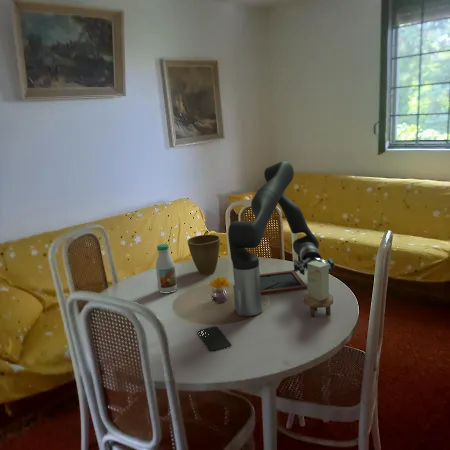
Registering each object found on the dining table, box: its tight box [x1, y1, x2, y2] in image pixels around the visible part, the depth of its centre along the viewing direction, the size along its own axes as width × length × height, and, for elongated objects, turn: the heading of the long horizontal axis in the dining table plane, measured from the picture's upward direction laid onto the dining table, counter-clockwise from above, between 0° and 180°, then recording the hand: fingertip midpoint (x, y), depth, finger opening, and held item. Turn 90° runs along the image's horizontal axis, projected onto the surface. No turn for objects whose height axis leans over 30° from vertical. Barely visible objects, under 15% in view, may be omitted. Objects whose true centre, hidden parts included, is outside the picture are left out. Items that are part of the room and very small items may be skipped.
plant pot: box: [186, 234, 221, 276], centre depth 203 cm, size 15×15×16 cm
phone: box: [197, 325, 232, 352], centre depth 143 cm, size 7×1×15 cm
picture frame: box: [260, 269, 308, 296], centre depth 184 cm, size 20×2×25 cm
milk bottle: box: [155, 243, 178, 292], centre depth 184 cm, size 8×8×20 cm
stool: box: [302, 292, 334, 319], centre depth 153 cm, size 10×10×6 cm
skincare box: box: [306, 260, 330, 301], centre depth 151 cm, size 6×4×12 cm
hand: (315, 271), depth 154 cm, fingers open, 8 cm apart
